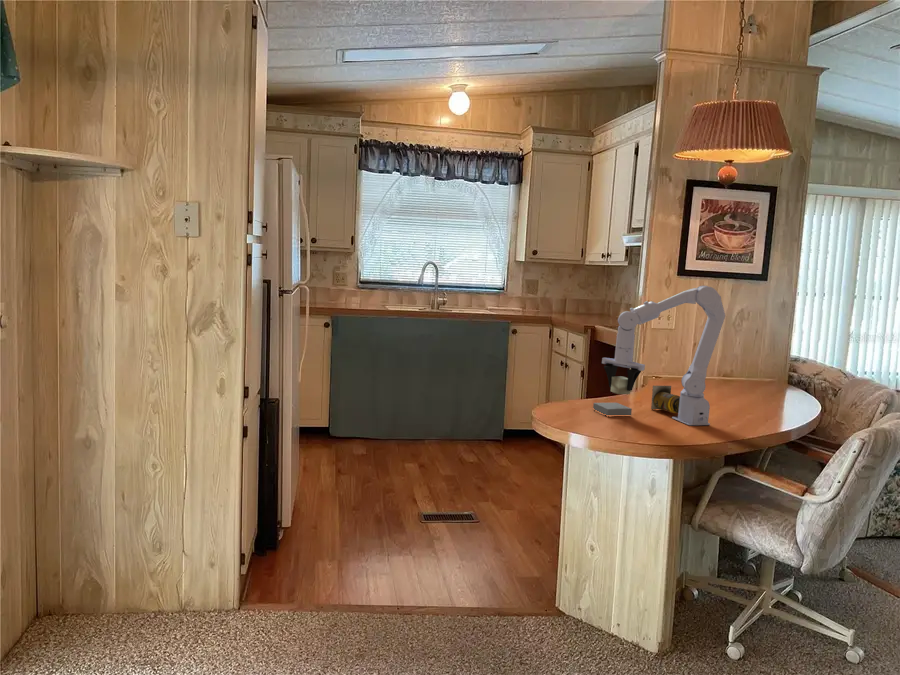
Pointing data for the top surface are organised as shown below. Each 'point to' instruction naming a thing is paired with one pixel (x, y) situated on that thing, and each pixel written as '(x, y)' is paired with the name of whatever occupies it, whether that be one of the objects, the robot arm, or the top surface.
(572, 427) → the top surface
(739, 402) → the top surface
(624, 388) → the sage block
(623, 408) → the plate
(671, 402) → the condiment
